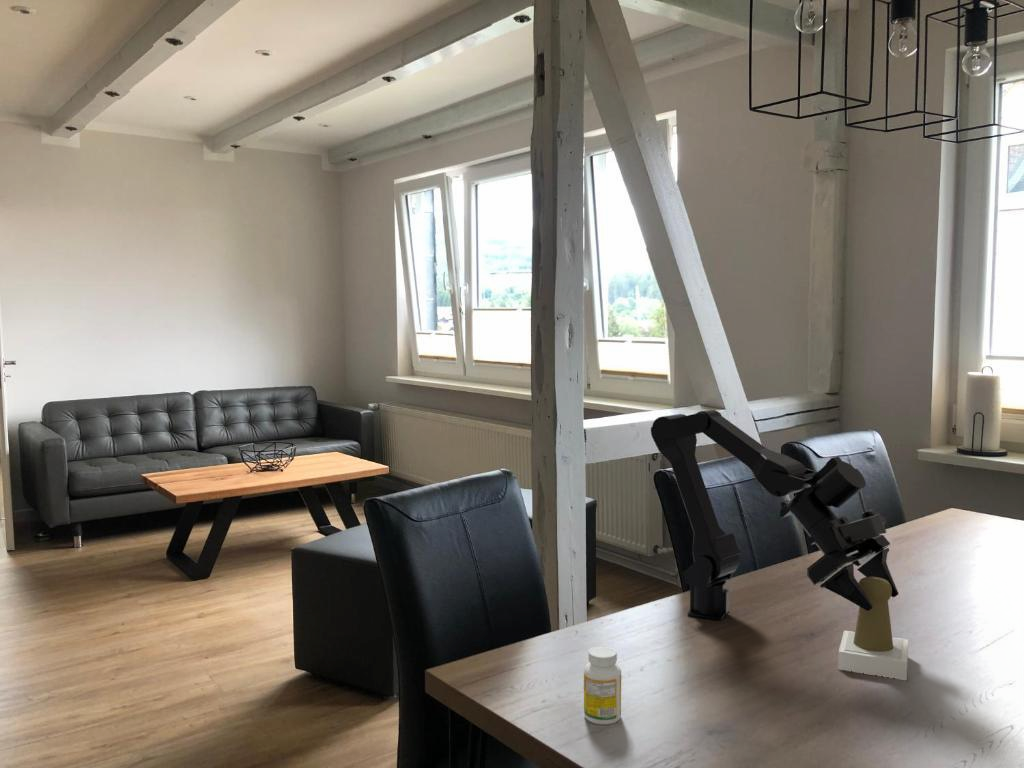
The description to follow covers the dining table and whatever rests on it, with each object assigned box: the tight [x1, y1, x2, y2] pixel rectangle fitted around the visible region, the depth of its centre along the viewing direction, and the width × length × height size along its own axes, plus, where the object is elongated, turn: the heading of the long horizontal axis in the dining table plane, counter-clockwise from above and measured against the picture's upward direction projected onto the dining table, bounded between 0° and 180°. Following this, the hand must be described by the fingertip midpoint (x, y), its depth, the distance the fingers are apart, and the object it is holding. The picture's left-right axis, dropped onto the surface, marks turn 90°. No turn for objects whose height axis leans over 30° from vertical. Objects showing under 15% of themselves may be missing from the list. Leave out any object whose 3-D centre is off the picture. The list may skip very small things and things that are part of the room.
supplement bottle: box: [583, 646, 622, 726], centre depth 122 cm, size 5×5×10 cm
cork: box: [853, 576, 893, 652], centre depth 139 cm, size 6×6×11 cm
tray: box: [837, 630, 909, 681], centre depth 139 cm, size 10×10×3 cm
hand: (883, 602), depth 138 cm, fingers open, 9 cm apart
